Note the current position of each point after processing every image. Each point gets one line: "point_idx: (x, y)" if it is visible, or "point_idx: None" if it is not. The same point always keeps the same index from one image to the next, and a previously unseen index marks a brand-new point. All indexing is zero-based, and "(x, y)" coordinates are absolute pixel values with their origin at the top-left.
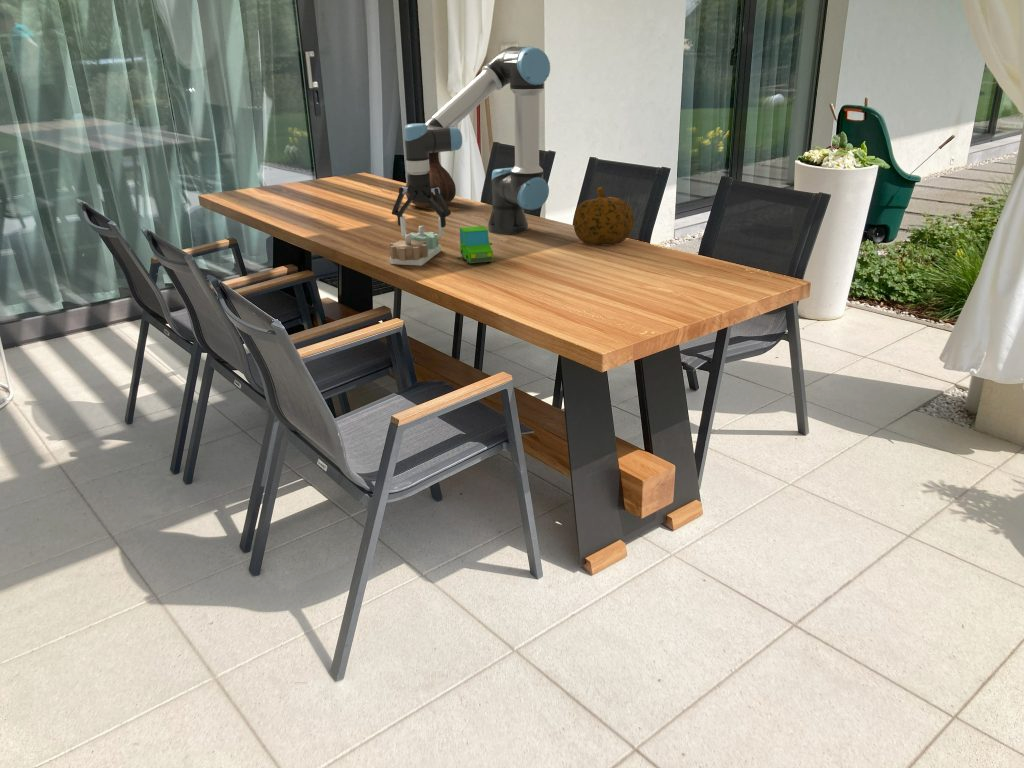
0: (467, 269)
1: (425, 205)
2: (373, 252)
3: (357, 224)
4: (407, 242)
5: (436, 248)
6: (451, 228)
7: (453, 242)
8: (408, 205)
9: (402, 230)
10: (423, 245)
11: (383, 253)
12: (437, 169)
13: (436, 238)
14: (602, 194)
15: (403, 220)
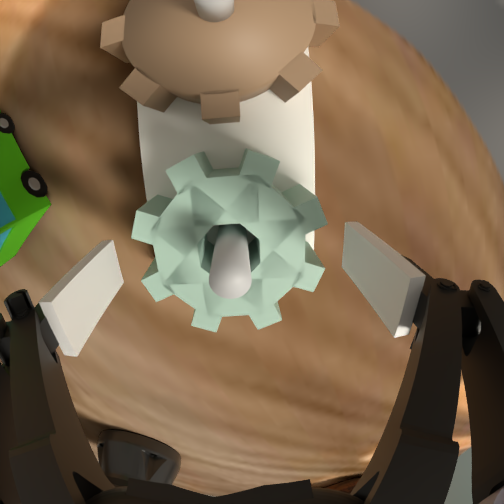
0: (5, 72)
1: (350, 483)
2: (428, 174)
3: None
4: None
5: None
6: (265, 450)
7: (189, 372)
8: (399, 403)
9: (363, 233)
10: (113, 19)
11: (393, 164)
12: None
13: (153, 267)
14: None
15: (387, 286)
